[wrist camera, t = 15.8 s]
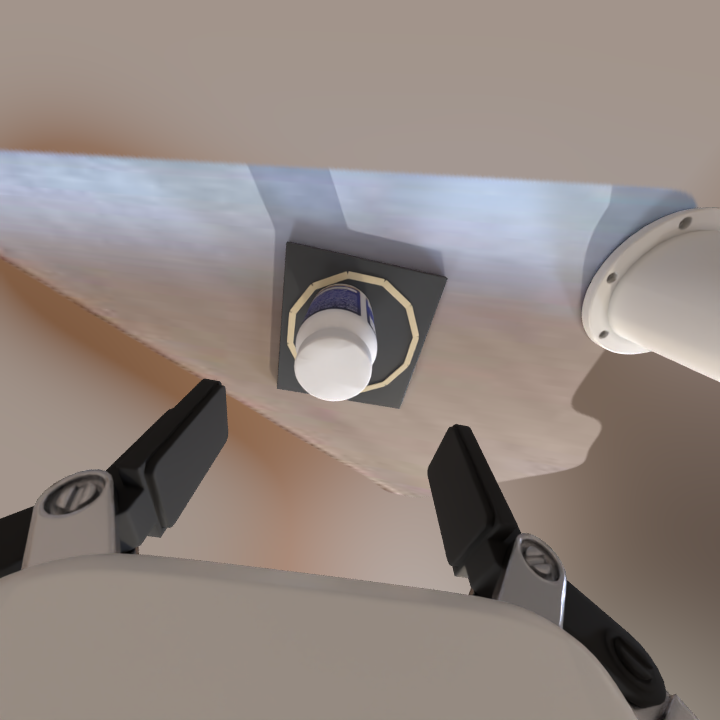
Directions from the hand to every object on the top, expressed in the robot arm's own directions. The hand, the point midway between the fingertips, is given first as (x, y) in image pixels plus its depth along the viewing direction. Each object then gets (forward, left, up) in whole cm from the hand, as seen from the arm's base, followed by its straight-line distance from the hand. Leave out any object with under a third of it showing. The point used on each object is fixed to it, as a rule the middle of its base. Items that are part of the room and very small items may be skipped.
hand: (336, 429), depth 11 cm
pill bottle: (+1, 0, -15) cm, 15 cm away
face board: (-1, +3, -16) cm, 16 cm away
